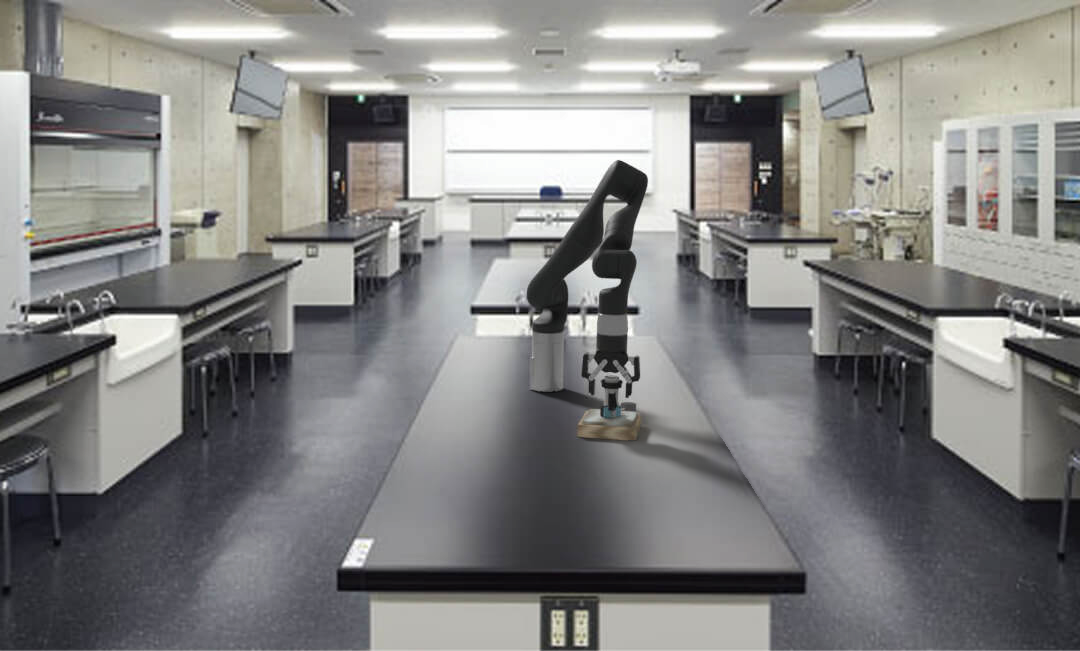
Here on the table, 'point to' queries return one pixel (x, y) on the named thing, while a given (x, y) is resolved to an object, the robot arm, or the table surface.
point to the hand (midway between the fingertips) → (610, 396)
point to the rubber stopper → (628, 406)
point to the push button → (611, 397)
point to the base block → (609, 425)
